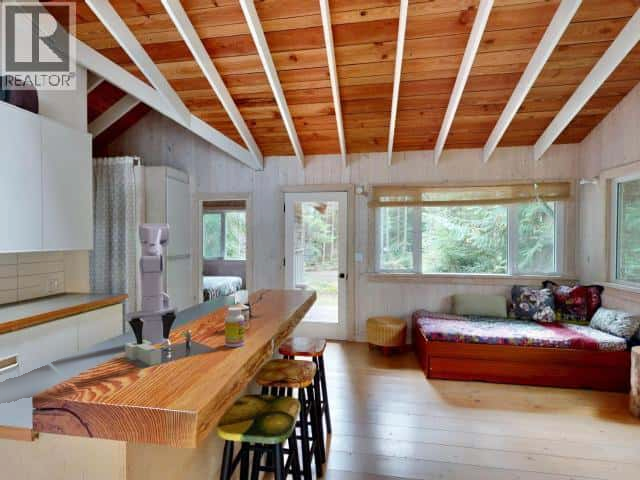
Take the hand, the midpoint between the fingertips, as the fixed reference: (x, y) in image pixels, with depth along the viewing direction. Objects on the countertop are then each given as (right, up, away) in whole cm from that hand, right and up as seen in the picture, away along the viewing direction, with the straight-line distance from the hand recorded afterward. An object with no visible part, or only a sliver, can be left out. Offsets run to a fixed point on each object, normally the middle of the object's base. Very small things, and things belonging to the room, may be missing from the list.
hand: (153, 341), depth 106 cm
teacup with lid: (+16, -8, +45) cm, 49 cm away
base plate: (+1, -7, +10) cm, 12 cm away
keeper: (+4, -7, +15) cm, 17 cm away
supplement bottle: (+20, -7, +20) cm, 29 cm away
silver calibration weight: (-2, -7, +14) cm, 16 cm away
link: (-4, -7, +4) cm, 9 cm away
